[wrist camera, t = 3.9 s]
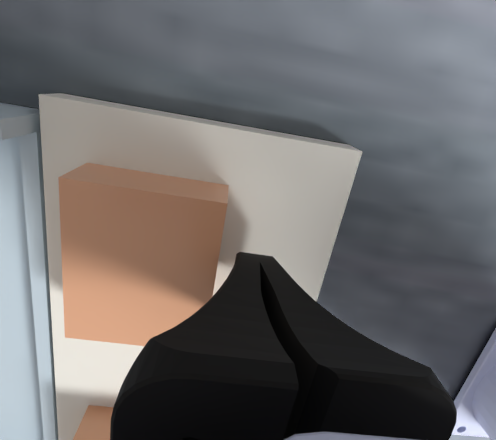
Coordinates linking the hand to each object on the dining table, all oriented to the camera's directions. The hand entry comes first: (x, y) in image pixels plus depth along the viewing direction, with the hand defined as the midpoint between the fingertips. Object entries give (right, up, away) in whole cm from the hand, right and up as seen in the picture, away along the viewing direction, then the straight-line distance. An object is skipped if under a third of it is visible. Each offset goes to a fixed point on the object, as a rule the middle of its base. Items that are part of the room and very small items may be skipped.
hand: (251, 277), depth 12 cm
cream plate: (-3, -4, +5) cm, 7 cm away
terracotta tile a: (-4, +1, +1) cm, 4 cm away
